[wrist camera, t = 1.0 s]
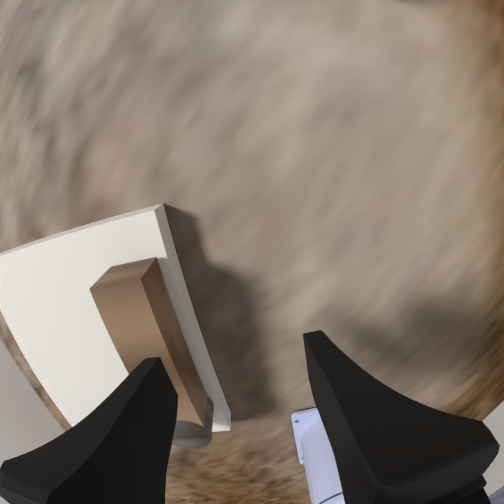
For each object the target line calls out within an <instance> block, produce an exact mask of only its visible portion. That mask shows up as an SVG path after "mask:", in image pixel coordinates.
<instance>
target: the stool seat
mask: <svg viewBox="0 0 504 504" xmlns="http://www.w3.org/2000/svg"><path fill="white" fill-rule="evenodd" d="M154 257H157V260H158V263H159V266H160V269H161V272H162V275H163V279H164V282H165V285H166V288H167V291H168V294H169V297H170V300H171V303H172V306H173V308H174V311H175V314H176V317H177V320H178V323H179V325H180V328H181V331H182V333H183V336H184V339H185V341H186V344H187V347H188V349H189V352H190V355H191V357H192V360H193V362H194V365H195V367H196V370H197V372H198V375H199V377H200V379H201V382H202V384H203V387H204V389H205V391H206V394H207V396H208V397H209V398H210V399H211V400H212V401H213V404H214V413H213V425H212V432H217V431H227V430H230V426H231V412H230V410H229V407H228V405H227V402H226V399H225V397H224V394H223V392H222V389H221V386H220V384H219V381H218V378H217V376H216V373H215V370H214V367H213V365H212V362H211V359H210V356H209V353H208V351H207V348H206V345H205V342H204V339H203V336H202V333H201V330H200V327H199V324H198V321H197V318H196V315H195V312H194V309H193V306H192V303H191V300H190V296H189V293H188V290H187V287H186V283H185V280H184V277H183V273H182V270H181V267H180V263H179V260H178V256H177V253H176V249H175V246H174V242H173V239H172V235H171V231H170V228H169V224H168V220H167V216H166V212H165V209H164V205H163V204H159V205H155V206H151V207H147V208H144V209H140V210H136V211H132V212H129V213H125V214H121V215H118V216H114V217H110V218H107V219H103V220H100V221H96V222H93V223H90V224H86V225H83V226H80V227H76V228H73V229H70V230H67V231H63V232H60V233H57V234H54V235H51V236H48V237H45V238H42V239H39V240H36V241H33V242H30V243H27V244H24V245H21V246H18V247H16V248H13V249H10V250H7V251H4V252H2V253H0V310H1V312H2V314H3V316H4V318H5V320H6V322H7V325H8V327H9V329H10V331H11V332H12V334H13V336H14V338H15V340H16V342H17V344H18V346H19V347H20V349H21V351H22V353H23V355H24V356H25V358H26V360H27V362H28V363H29V365H30V367H31V368H32V370H33V371H34V373H35V375H36V376H37V378H38V379H39V381H40V382H41V384H42V386H43V387H44V389H45V390H46V392H47V393H48V394H49V396H50V397H51V399H52V400H53V402H54V403H55V404H56V406H57V407H58V409H59V410H60V411H61V413H62V414H63V415H64V417H65V418H66V419H67V421H68V422H69V423H70V424H71V426H72V427H73V426H75V425H76V424H77V423H79V422H80V421H81V420H83V419H84V418H85V417H86V416H87V415H89V414H90V413H91V412H92V411H93V410H94V409H95V408H96V407H97V406H99V405H100V404H101V403H102V402H103V401H104V400H105V399H106V398H107V397H108V396H109V395H110V394H111V393H112V392H113V391H114V390H115V389H116V388H117V387H118V386H119V385H120V384H121V383H122V381H123V380H124V379H125V378H126V377H127V376H128V375H129V374H128V372H127V370H126V368H125V366H124V364H123V362H122V360H121V358H120V356H119V354H118V352H117V350H116V348H115V346H114V344H113V342H112V340H111V338H110V336H109V334H108V331H107V329H106V327H105V325H104V323H103V320H102V318H101V316H100V314H99V311H98V309H97V307H96V304H95V302H94V299H93V297H92V294H91V292H90V287H91V286H92V285H93V284H94V283H95V282H96V281H97V280H98V279H99V278H100V277H101V276H102V275H103V274H104V273H105V272H106V271H107V270H108V269H109V268H110V267H112V266H116V265H121V264H125V263H130V262H135V261H139V260H144V259H149V258H154Z"/></svg>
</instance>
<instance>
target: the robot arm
mask: <svg viewBox="0 0 504 504" xmlns="http://www.w3.org/2000/svg"><path fill="white" fill-rule="evenodd" d="M303 339H304V346H305V354H306V361H307V369H308V377H309V381H310V385H311V389H312V394H313V398H314V401H315V404H316V407H317V408H312V409H307V410H303V411H298V412H294V413H293V414H292V415H291V419H292V424H293V430H294V435H295V440H296V445H297V451H298V456H299V461H300V464H304V465H305V470H306V476H307V481H308V487H309V492H310V498H311V503H312V504H504V486H503V487H502V488H500V489H499V490H497V491H496V492H494V493H493V494H491V495H490V496H487V494H486V492H485V490H484V488H483V487H484V486H485V485H486V481H485V479H484V477H483V475H482V474H483V473H484V472H485V471H486V469H487V468H488V467H489V466H490V464H491V463H492V462H493V460H494V459H495V457H496V456H497V454H498V451H499V446H500V445H499V444H498V442H497V441H496V439H495V438H494V436H493V434H492V433H491V431H490V430H489V429H488V428H487V427H486V426H485V424H484V423H483V422H482V421H479V420H474V419H469V418H465V417H460V416H456V415H452V414H449V413H445V412H442V411H439V410H436V409H433V408H431V407H428V406H426V405H423V404H421V403H419V402H417V401H414V400H412V399H410V398H408V397H406V396H404V395H402V394H400V393H398V392H396V391H394V390H393V389H391V388H389V387H388V386H386V385H384V384H383V383H381V382H380V381H378V380H377V379H375V378H374V377H373V376H371V375H370V374H369V373H367V372H366V371H365V370H363V369H362V368H361V367H359V366H358V365H357V364H356V363H355V362H353V361H352V360H351V359H350V358H349V357H348V356H347V355H345V354H344V353H343V352H342V351H341V350H340V349H339V348H338V347H337V346H336V345H335V344H334V343H333V342H332V341H331V340H330V339H329V338H328V337H327V336H326V334H325V333H324V332H322V331H321V330H318V331H314V332H309V333H305V334H303ZM177 410H178V394H177V392H176V390H175V388H174V386H173V384H172V382H171V380H170V377H169V375H168V373H167V371H166V369H165V367H164V365H163V362H162V360H161V358H160V357H153V358H145V359H144V360H143V361H142V362H141V363H140V364H139V365H138V366H137V367H136V368H135V369H134V370H133V371H132V372H131V373H130V374H129V375H128V376H127V377H126V378H125V379H124V380H123V381H122V383H121V384H120V385H119V386H118V387H117V388H116V389H115V390H114V391H113V392H112V393H111V394H110V395H109V396H108V397H107V398H106V399H105V400H104V401H103V402H102V403H101V404H100V405H99V406H97V407H96V408H95V409H94V410H93V411H92V412H91V413H90V414H89V415H87V416H86V417H85V418H84V419H83V420H81V421H80V422H79V423H77V424H76V425H75V426H73V427H72V428H71V429H69V430H68V431H66V432H65V433H63V434H61V435H60V436H58V437H57V438H55V439H54V440H52V441H50V442H48V443H47V444H45V445H43V446H41V447H39V448H37V449H35V450H33V451H30V452H28V453H26V454H23V455H20V456H18V457H15V458H12V459H9V460H6V461H4V462H3V464H2V466H1V468H0V496H1V497H2V498H4V499H5V500H6V501H7V502H8V503H10V504H165V485H166V472H167V465H168V460H169V455H170V450H171V445H172V440H173V436H174V430H175V425H176V420H177Z"/></svg>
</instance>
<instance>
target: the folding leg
mask: <svg viewBox="0 0 504 504" xmlns="http://www.w3.org/2000/svg"><path fill="white" fill-rule="evenodd" d="M90 292H91V294H92V297H93V299H94V302H95V304H96V307H97V309H98V311H99V314H100V316H101V318H102V320H103V323H104V325H105V327H106V329H107V331H108V334H109V336H110V338H111V340H112V342H113V344H114V346H115V348H116V350H117V352H118V354H119V356H120V358H121V360H122V362H123V364H124V366H125V368H126V370H127V372H128V374H130V373H131V372H132V371H133V370H134V369H135V368H136V367H137V366H138V365H139V364H140V363H141V362H142V361H143V360H144V359H145V358H153V357H160V358H161V360H162V362H163V365H164V367H165V369H166V371H167V373H168V375H169V377H170V380H171V382H172V384H173V386H174V388H175V390H176V392H177V394H178V410H177V420H176V425H175V430H174V436H173V440H172V444H174V445H177V446H180V447H184V448H201V447H204V446H206V445H208V444H209V443H210V441H211V438H212V425H213V413H214V404H213V401H212V400H211V399H210V398H209V397H208V396H207V394H206V391H205V389H204V387H203V384H202V382H201V379H200V377H199V375H198V372H197V370H196V367H195V365H194V362H193V360H192V357H191V355H190V352H189V349H188V347H187V344H186V341H185V339H184V336H183V333H182V331H181V328H180V325H179V323H178V320H177V317H176V314H175V311H174V308H173V306H172V303H171V300H170V297H169V294H168V291H167V288H166V285H165V282H164V279H163V275H162V272H161V269H160V266H159V263H158V260H157V257H154V258H149V259H144V260H139V261H135V262H130V263H125V264H121V265H116V266H112V267H110V268H109V269H108V270H107V271H106V272H105V273H104V274H103V275H102V276H101V277H100V278H99V279H98V280H97V281H96V282H95V283H94V284H93V285H92V286H91V287H90Z"/></svg>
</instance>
